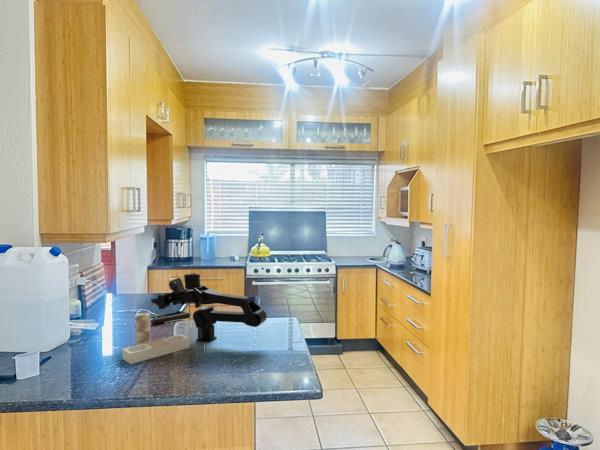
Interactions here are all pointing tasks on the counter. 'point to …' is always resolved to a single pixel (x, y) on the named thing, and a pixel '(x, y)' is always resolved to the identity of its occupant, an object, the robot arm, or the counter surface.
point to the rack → (155, 348)
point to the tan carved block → (143, 328)
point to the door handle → (169, 317)
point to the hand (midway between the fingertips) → (158, 298)
